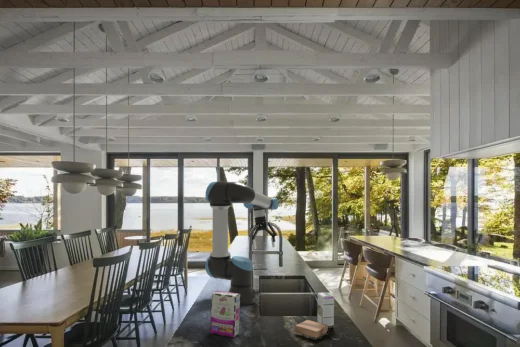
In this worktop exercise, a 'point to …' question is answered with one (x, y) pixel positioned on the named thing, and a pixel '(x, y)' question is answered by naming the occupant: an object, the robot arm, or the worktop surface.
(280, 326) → the worktop surface
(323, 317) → the syrup box
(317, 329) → the wood block
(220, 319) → the candy bar box
